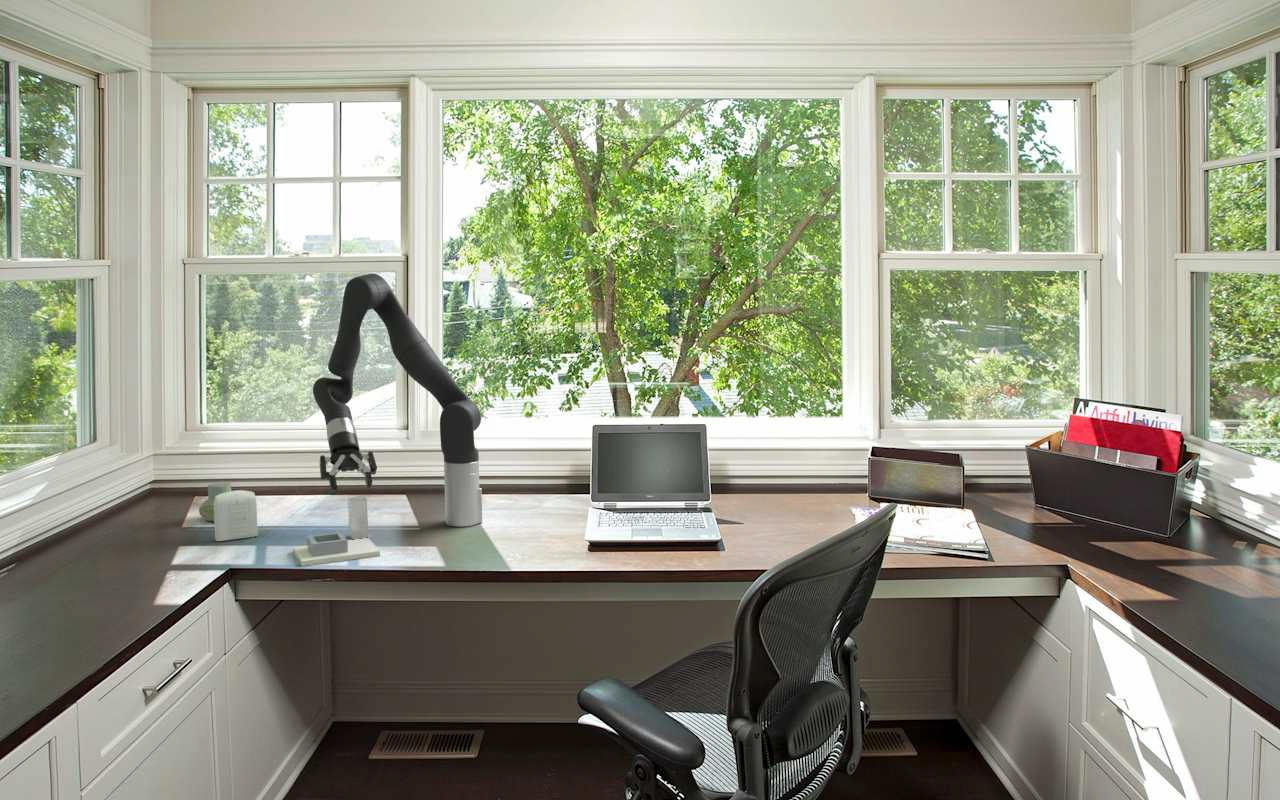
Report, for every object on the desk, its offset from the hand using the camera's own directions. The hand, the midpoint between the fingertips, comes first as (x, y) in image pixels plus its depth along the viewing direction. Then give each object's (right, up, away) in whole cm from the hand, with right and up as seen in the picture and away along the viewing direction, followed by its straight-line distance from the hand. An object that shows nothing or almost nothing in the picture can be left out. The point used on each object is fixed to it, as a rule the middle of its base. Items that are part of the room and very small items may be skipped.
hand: (352, 488), depth 253 cm
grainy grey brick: (+3, -12, -4) cm, 13 cm away
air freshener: (-40, -10, +13) cm, 43 cm away
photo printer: (-28, -13, -5) cm, 31 cm away
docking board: (+2, -14, -19) cm, 24 cm away
